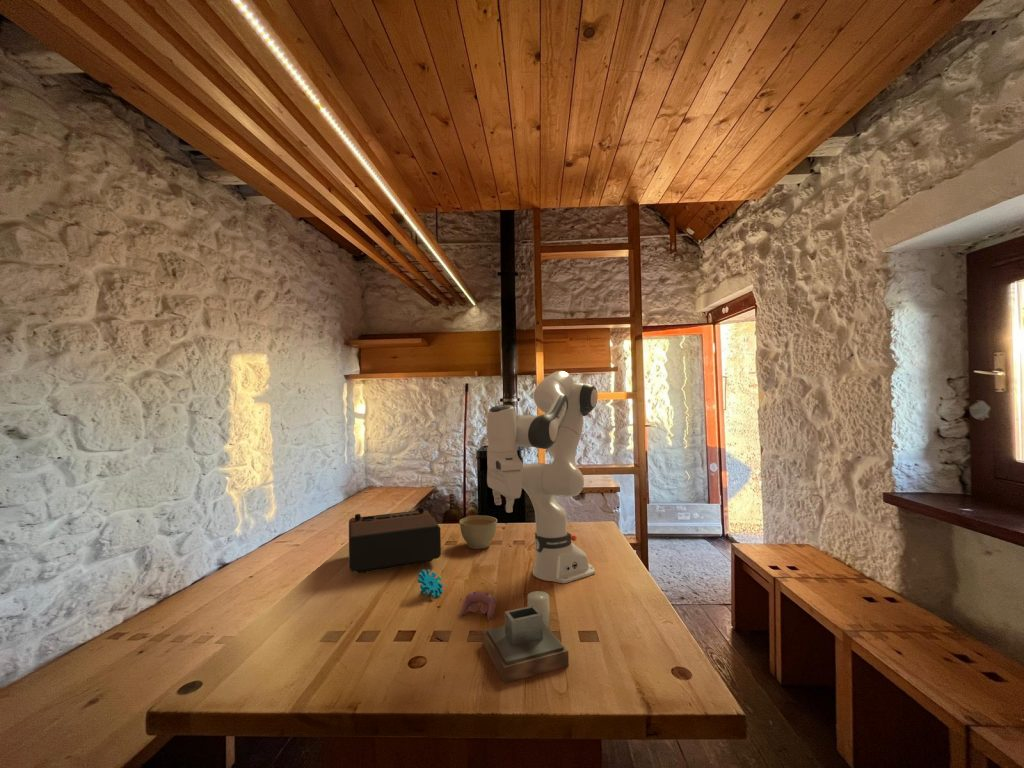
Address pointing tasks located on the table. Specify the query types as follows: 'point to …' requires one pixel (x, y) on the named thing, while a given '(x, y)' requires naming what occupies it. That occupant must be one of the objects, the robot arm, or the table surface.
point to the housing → (523, 626)
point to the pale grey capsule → (540, 604)
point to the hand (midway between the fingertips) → (503, 508)
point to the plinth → (524, 654)
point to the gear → (430, 583)
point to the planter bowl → (478, 530)
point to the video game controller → (481, 597)
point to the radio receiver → (393, 540)
